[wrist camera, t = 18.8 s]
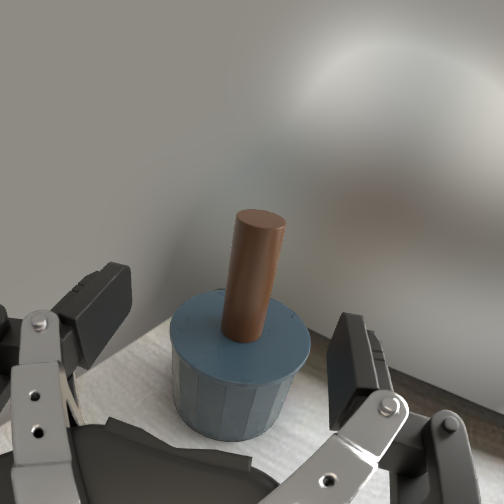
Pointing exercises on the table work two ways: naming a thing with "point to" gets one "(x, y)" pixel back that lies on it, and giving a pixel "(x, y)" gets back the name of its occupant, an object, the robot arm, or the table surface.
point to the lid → (243, 315)
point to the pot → (225, 405)
